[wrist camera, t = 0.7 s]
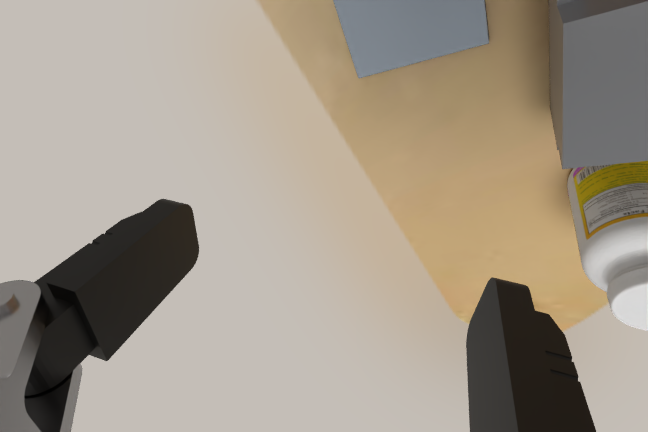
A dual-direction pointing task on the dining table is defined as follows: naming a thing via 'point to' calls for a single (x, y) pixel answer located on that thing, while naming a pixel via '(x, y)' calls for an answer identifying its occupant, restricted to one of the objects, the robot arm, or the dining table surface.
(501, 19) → the dining table surface
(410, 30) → the rubber mat
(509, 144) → the dining table surface
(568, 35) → the dispenser
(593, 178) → the supplement bottle
